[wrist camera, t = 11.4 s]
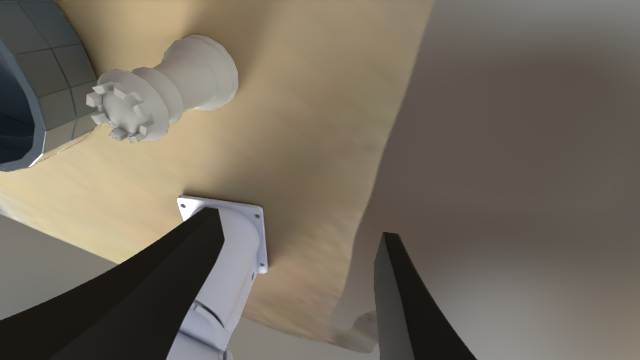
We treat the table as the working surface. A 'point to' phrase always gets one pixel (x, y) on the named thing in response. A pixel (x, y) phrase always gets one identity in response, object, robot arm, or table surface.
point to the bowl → (41, 84)
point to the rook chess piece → (165, 89)
